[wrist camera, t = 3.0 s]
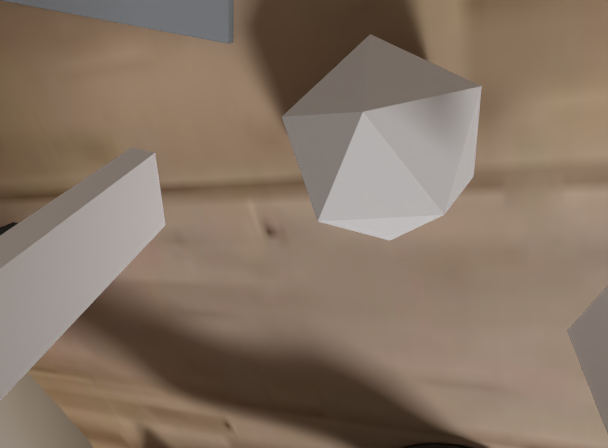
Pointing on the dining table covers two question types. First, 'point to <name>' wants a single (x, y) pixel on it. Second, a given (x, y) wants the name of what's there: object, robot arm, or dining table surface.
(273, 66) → the dining table surface
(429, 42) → the dining table surface
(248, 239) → the dining table surface
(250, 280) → the dining table surface
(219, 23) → the mat
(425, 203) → the die
